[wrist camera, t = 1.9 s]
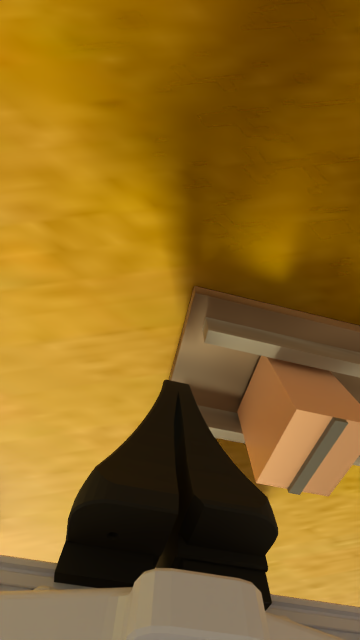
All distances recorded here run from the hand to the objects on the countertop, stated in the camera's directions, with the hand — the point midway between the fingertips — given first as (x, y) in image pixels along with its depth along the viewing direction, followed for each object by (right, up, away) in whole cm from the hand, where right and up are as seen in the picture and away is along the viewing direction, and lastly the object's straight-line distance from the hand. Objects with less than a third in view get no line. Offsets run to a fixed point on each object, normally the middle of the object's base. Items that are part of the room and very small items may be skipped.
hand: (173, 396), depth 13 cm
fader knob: (+7, 0, +3) cm, 8 cm away
